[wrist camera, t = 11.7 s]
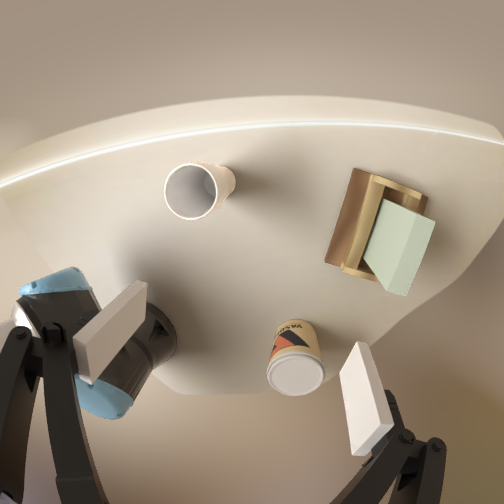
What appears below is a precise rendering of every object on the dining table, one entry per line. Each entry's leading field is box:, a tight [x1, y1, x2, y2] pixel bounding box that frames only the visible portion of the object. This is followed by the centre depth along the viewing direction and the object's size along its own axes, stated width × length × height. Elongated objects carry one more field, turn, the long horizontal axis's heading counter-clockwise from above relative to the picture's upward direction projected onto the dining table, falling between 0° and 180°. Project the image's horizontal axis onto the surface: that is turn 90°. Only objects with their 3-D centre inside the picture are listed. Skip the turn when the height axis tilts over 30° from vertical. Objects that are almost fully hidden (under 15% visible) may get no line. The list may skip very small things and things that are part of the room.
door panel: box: [362, 198, 436, 297], centre depth 37 cm, size 3×10×14 cm, turn 166°
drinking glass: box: [164, 162, 236, 220], centre depth 38 cm, size 7×7×15 cm
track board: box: [325, 168, 428, 283], centre depth 43 cm, size 14×16×4 cm
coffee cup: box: [267, 319, 325, 396], centre depth 47 cm, size 9×9×12 cm
